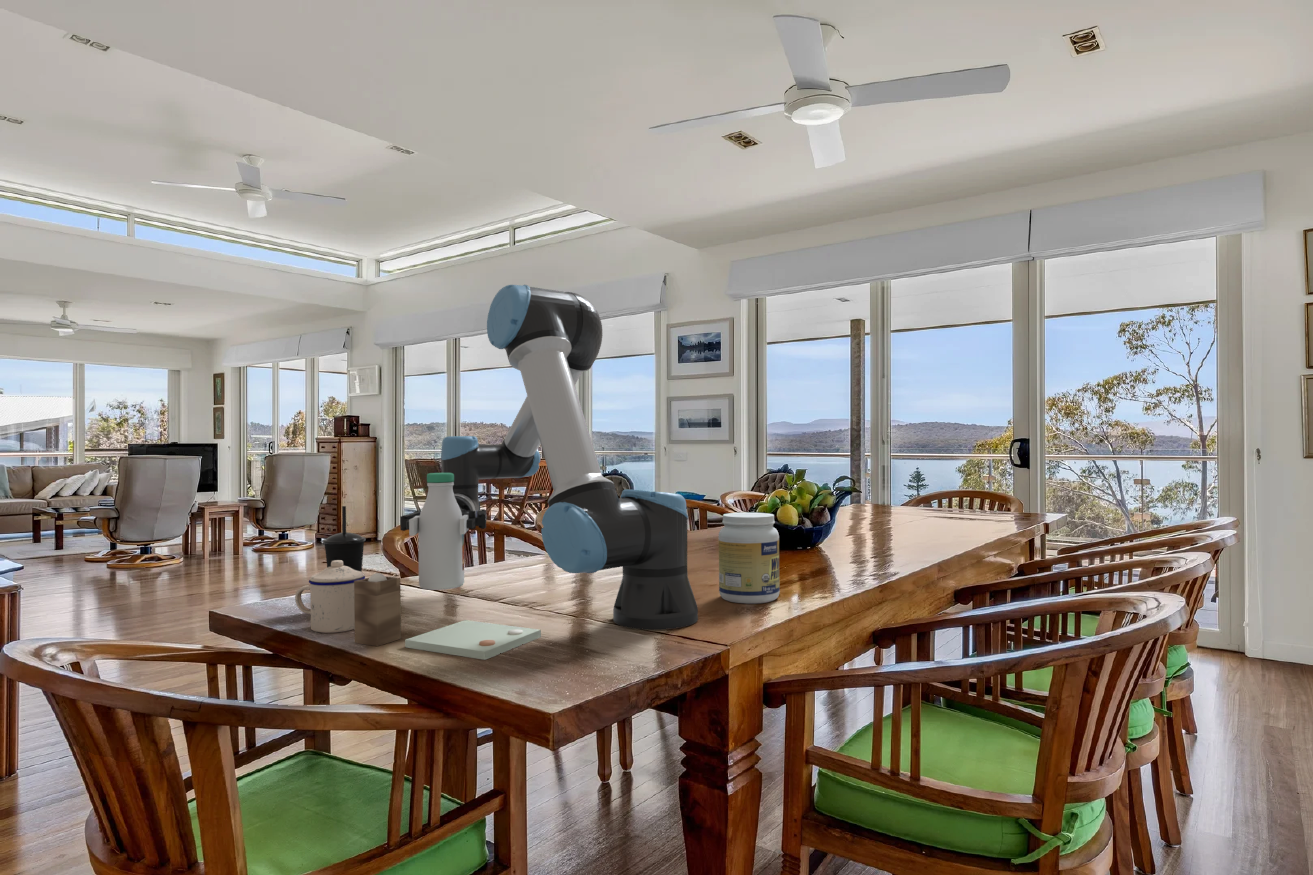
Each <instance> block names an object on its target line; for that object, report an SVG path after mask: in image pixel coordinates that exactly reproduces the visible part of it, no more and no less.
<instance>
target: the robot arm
mask: <svg viewBox="0 0 1313 875" xmlns="http://www.w3.org/2000/svg"><path fill="white" fill-rule="evenodd" d="M486 332H487V333H486V334H487V338H488V341H489V343H490V344H491V346H493V347H494V348H497V349H499V350H505V353H506V356H507V359H508V363H509V365H510V366H511V367H512V368H513V369H516V370H518V371H520V373H521V374H520V375H521V378H522V381H523V382H522V383H523V384H524V389H525V392H526V397H525V399H524V401H523V404H522V405H521V406H520V408H519V410H518V412H517V414H516V417H515V418H514V420H513V422H512V424H511V426H510V428H509V429H508V432H507V433H506V435H505V436H504V437H503V438H504V439H503V440H502V442H501V443H499V444H488V443H487V444H486V443H485V444H484V443H481V444H480V443H479V440H478V437H477V436H474V435H472V436H471V435H470V436H469V435H459V436H458V435H455V436H454V435H453V436H452V435H451V436H446V437H444V438H442V441H441V450H440V453H441V454H440V461H441V473H453V474H454V485H453V493H454V496H455V499H456V501H457V503H458V505H459V508H460V510H461V513H462V517H461V518H460V534H464V535H465V534H466V533H467V532H468V531H469V530H475V529H476V527H478V528H479V529H480V530H481V529H482V530H484V529H486V528H487V510H486V509H483V508H482V509H481V503H480V501H479V480H492V479H494V480H495V479H521V478H525V477H532V476H534V475H535V474H536V473H537V472H538V470H539V468H540V463H541V455H540V452H539V447H540V446H541V449H542V454H543V456H544V460H545V463H546V467H547V468H546V469H547V471H548V474H549V478H550V482H551V485H552V489H553V492H552V493H551V495H550V496H549V498H548V500H547V505H548V508H546V510H545V512H544V514H543V516H542V518H541V524H542V526H543V527H542V528H541V532H540V533H541V537H542V539H541V540H542V542H543V546H544V549H545V551H546V553H547V555H548V557H549V558H550V560H551V561H552V562H553V563H554V565H556V566H557V567H558V568H560V569H561V570H562V571H564V572H565V573H566V572H567V573H570V574H581V573H582V574H583V573H584V574H595V573H597V572H600V571H604V570H610V569H611V570H612V569H616V568H621V567H622V578H621V582H620V585H619V587H618V588H619V589H618V592H617V595H616V598H615V601H614V604H613V611H612V612H613V613H612V615H613V616H612V618H613V619H612V620H613V623H615V624H616V625H618V626H620V627H624V628H629V629H634V630H647V631H650V630H652V631H653V630H654V631H656V630H657V631H659V630H672V629H679V628H684V627H689V626H691V625H694V624H696V623H697V622H698V620H699V615H698V614H699V611H698V610H699V609H698V604H697V601H696V599H695V595H694V592H693V589H692V586H691V585H692V584H691V583H690V580H689V575H688V520H689V515H688V512H687V510H688V509H687V501H686V498H685V497H684V496H683V495H682V494H680V493H674V492H673V493H672V492H664V491H652V490H643V489H642V490H641V489H623V490H622V491H621V495H620V498H619V495H618V493H617V489H616V486H615V483H614V482H613V481H612V480H610V479H608V478H607V477H604V476H603V473H602V471H601V467H600V464H599V461H598V457H597V455H596V451H595V448H594V444H593V441H592V438H591V434H590V432H589V428H588V425H587V421H586V418H585V416H584V412H583V408H582V405H581V402H580V398H579V395H578V392H577V388H576V384H577V382H578V380H579V379H580V377H581V375H582V374H583V373H584V372H587V371H589V370H590V369H591V368H592V366H593V364H594V363H595V361H596V360H597V358H598V355H599V353H600V351H601V347H602V342H603V323H602V320H601V317H600V314H599V312H598V310H597V309H596V307H595V306H594V304H593V303H592V302H591V301H589V300H588V299H587V298H586V297H585V296H583V295H580V294H578V293H576V292H571V291H570V292H569V291H563V290H562V291H560V290H556V289H555V290H554V289H547V288H540V287H534V286H530V285H527V284H522V285H521V284H507V285H505V286H503V287H502V288H501V289H499V290H498V291H497V292H496V294H495V296H494V297H493V299H492V300H491V304H490V306H489V310H488V314H487V318H486ZM420 513H421V511H418V510H415V511H413V512H411V513H409V514H408V513H407V514H405V515H401V516H400V517H399V518H400V520H399V521H400V522H399V524H400V531H403V532H405V531H407V530H408V531H409V533H408V536H409V537H412V536H413V537H414V536H416V535H418V530H419V517H420Z"/></svg>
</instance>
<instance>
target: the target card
mask: <svg viewBox="0 0 1313 875" xmlns="http://www.w3.org/2000/svg"><path fill="white" fill-rule="evenodd" d="M540 638H542V629H537V628H531V627H530V628H529V627H523V626H515V625H507V624H500V623H491V622H485V621H484V622H482V621H477V620H468V619H464V620H461V621H459V622H455V623H453V624H449V625H446V626H442V627H439V628H437V629H433V630H431V631H428V632H424V633H422V634H418V635H415V636H413V637H410V638H406V639H405V640H404V647H405V648H409V649H414V650H419V651H427V652H432V653H433V652H434V653H437V654H446V655H451V656H457V657H464V658H470V659H478V660H485V661H486V660H488V659H490V658H494V657H496V656H499V655H501V654H502V653H503V654H504V653H505V652H508V651H510V650H512V648H513V649H515V648H518V647H521V646H522V644H523V645H525V644H527V643H530V642H533V641H535V640H537V639H540ZM500 653H501V654H500Z"/></svg>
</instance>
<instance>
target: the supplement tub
mask: <svg viewBox="0 0 1313 875" xmlns="http://www.w3.org/2000/svg"><path fill="white" fill-rule="evenodd" d="M775 523H776V521H775V514H773V513H766V512H730V513H729V512H728V513H724V514H723V515H722V522H721V524H723V525H724V527H722V528H720V530H719V532H718V592H719V595H720V597H721V599H723V600H725V601H727V602H730V603H736V604H765V603H770V602H773V601H775V600H776V599H777V598H778V597H779V595H780V535H779V532H778V531H779V530H777V528H775V527H774V524H775Z"/></svg>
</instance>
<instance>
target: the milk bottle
mask: <svg viewBox="0 0 1313 875" xmlns="http://www.w3.org/2000/svg"><path fill="white" fill-rule="evenodd" d="M426 484H427V485H426V486H427V487H428V489H427V491H428V492H427V496H426V498H425V501H424V504H423V506H422V507H421V510H420V512H421V513H420V517H419V530H418V533H417V535H418V539H417V540H418V542H417V543H418V549H417V550H418V585H419V588H420V589H421V590H422V589H423V590H429V591H432V590H433V591H437V590H439V591H440V590H450V589H457V588H460V587H462V586H463V585H464V583H465V534H460V518H461V517H462V513H461V510H460V508H459V505H458V503H457V501H456V499H455V496H454V493H453V485H454V474H453V473H442V472H430V473H427V474H426Z"/></svg>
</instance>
